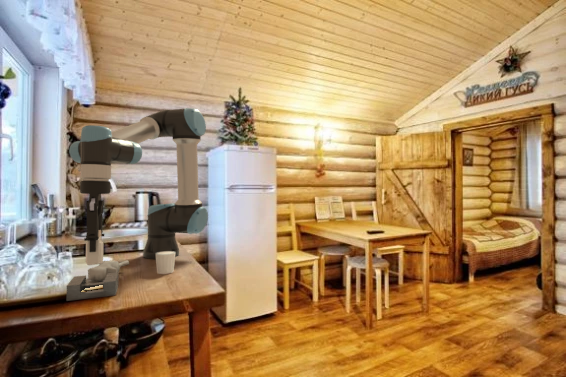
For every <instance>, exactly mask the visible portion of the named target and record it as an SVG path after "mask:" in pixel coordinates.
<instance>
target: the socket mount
mask: <svg viewBox="0 0 566 377" xmlns="http://www.w3.org/2000/svg"><path fill="white" fill-rule="evenodd" d="M99 285H103V289H98V290H92V291H91V290H89V291H87V292H81V291H82V290H84V289H85V288H90V287H95V286H99ZM118 288H119V272H118V273H108V274H107V276H106V278H105V280H104V281H99V282H93V283H91V282H90V283H87V275H78V276H76V275H75V276H73V277H72V279H71V280H70V281H69V282H68V283H67V285H66V299H65V300H66V302H68V301H77V300H78V301H79V300H86V299H88V300H89V299H95V298H96V299H97V298H103V297H112V296H116V295H117V291H118Z"/></svg>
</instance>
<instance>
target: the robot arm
mask: <svg viewBox="0 0 566 377" xmlns="http://www.w3.org/2000/svg"><path fill="white" fill-rule="evenodd" d="M206 128H207V124H206V121H205V118H204V116H203V113H202V112H201V111H200V110H199V109H197V108H191V107H190V108H189V107H187V108H177V109H176V108H175V109H163V110H160V111H158V112H154V113H152V114H150V115H146V116H144V117H141V119H140V120H139V121H137V122H134V123H132V124H130V125H126V126H124V127H122V128H118V129H116V130H113V131H112V129H111V128H109V127H107V126H102V125H96V124H94V125H90V124H89V125H84V126H83V127H82V129H81V132H80V140H77V141H73V142H72V144H70V146H69V150H68V151H69V156H70V158H71V159H72V160H73V161H74V162H75V163H78V164H80V167H79V168H78V169H77V170H78V172H80V179H82V180H80V182H79V192H80V194H81V195H85V194H87V195H89V196H88V200H86V201H85V202H86V204H85V206H86V235H85V238H83V239H84V241H86V242H87V263H86V265H87V264H94V263H99V240H98V239H99V237H98V232H99V230H101V241H103V240H102V237H105V233H103V232H104V231H103V214H104V204H105V200H104V199H102V195H109V194H111V191H112V190H111V181H110V180H111V179H112V164H125V165H134V164H137V163H139V162H140V161H141V159H142V157H143V149H142V147H141V145H140V143H143V142H145V141H147V140H155V139H159V138H167V137H168V138H172V141H173V142H174V143H175V145H176V168H177V169H176V171H177V172H176V173H177V175H176V176H177V200H176V201H175V202H174V203H173V202H172V203H162V204H154V205H150V206H149V207H148V208H147V210H148V211H147V216H146V217H147V240H146V243H145V246H144V249H143V251H142V257H143V258H145V259H150V260H151V259H153V260H156V253H157V252H163V251H174V252H175V257H177V256H179V255H180V248H179V245H178V242H177V239H176V234H189V235H192V234H200V233H201V232H203V231H204V229H205V228H206V226H207V224H208V219H209V214H208V213H209V211H208V210H207V208H206V207H204V206H203V202H202V200H200V198H199V167H198V164H199V162H198V158H199V157H198V144H199V143H200V142H201V141H202V140H201V137H202V136H204V135H205V134H206V131H207V130H206Z"/></svg>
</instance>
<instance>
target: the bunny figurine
mask: <svg viewBox="0 0 566 377" xmlns="http://www.w3.org/2000/svg"><path fill="white" fill-rule="evenodd" d="M128 265H129V266H130V262H129V260H124V261H123V260H122V261H120V262H119V261H118V260H114V259H113V260H111V259H110V260H103V263H102V264H98V265H97V266H94V267H90V268H88V270H87V274H88V275H87V278H88V281H92V282H93V281H94V282H97V281H98V282H104V280H105V278H106V276H107V274H108V273H118V274H119V272H120V269H121V267H124V266H128Z"/></svg>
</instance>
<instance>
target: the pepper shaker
mask: <svg viewBox="0 0 566 377" xmlns="http://www.w3.org/2000/svg"><path fill="white" fill-rule="evenodd" d="M98 237H99V239H98V240H99V263H94V264H87V241H86V243H85V264H86V265H87V266H93V265H99V264H102V263H103V261H104V242H103V240H102V241H101V230H99V232H98Z"/></svg>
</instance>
